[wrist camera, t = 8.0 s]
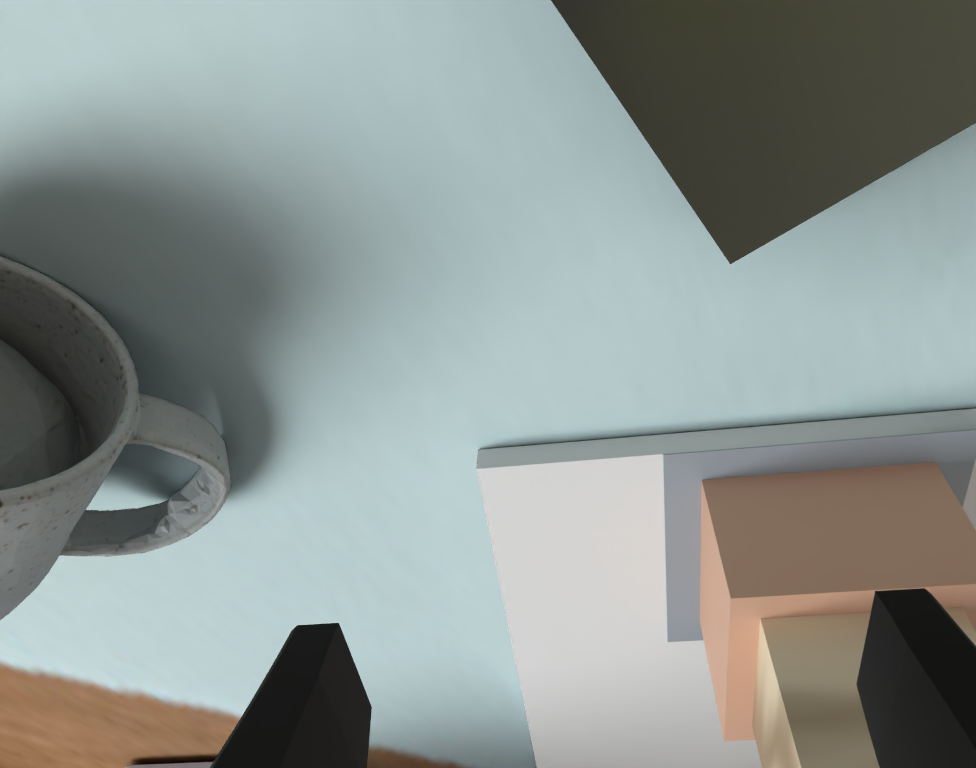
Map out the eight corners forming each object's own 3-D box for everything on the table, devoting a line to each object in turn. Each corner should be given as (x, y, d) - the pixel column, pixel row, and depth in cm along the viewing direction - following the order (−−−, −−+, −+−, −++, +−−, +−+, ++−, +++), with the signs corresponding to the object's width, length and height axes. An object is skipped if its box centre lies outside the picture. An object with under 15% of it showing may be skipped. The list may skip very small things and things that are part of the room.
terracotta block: (900, 609, 25) (955, 731, 22) (699, 620, 26) (724, 741, 23) (935, 462, 22) (1006, 582, 18) (701, 479, 22) (730, 598, 19)
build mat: (904, 770, 32) (912, 792, 31) (543, 783, 34) (543, 804, 33) (1010, 405, 21) (1025, 426, 21) (477, 449, 23) (476, 469, 22)
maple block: (929, 717, 22) (1010, 908, 18) (752, 725, 22) (795, 911, 18) (962, 606, 19) (1065, 802, 15) (760, 618, 19) (813, 811, 16)
